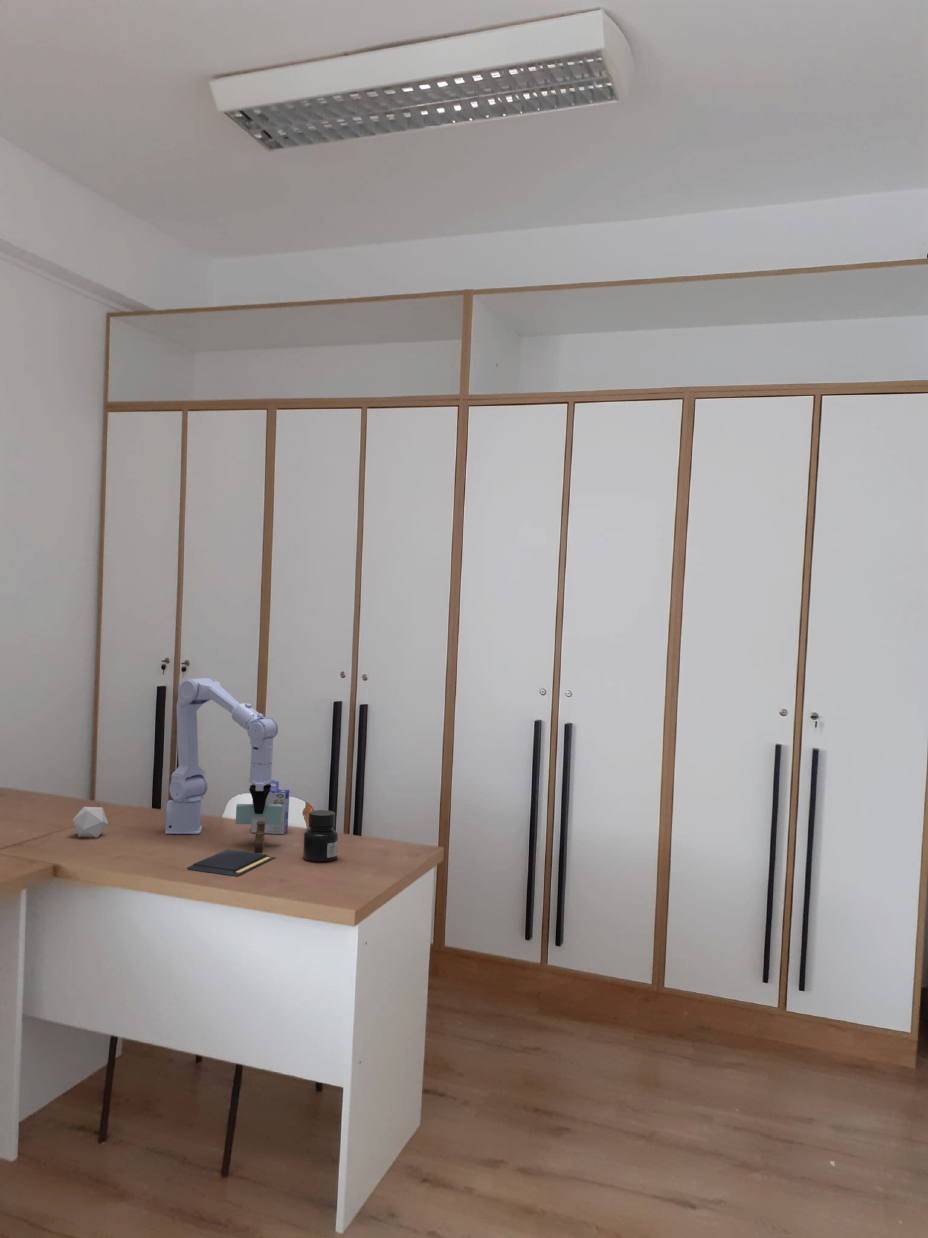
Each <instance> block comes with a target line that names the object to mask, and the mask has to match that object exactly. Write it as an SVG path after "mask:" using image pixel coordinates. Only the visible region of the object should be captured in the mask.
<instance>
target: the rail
mask: <svg viewBox="0 0 928 1238" xmlns="http://www.w3.org/2000/svg"><path fill="white" fill-rule="evenodd" d="M265 835H266V833H265V821H258V823H257V831H256V833H255V838H254V839H255V841H254V842H255V843H254V853H261V854H263V850H264V844H265Z"/></svg>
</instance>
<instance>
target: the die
mask: <svg viewBox="0 0 928 1238" xmlns="http://www.w3.org/2000/svg"><path fill="white" fill-rule="evenodd" d="M72 822H73V825H74V828H75V831H76V833H77V836H78V838H94V839H95V838H98V837H99V836H100V835H101V834H102V833H103V832H104V831H105V829H106V828H107V827H108V826H109V822H108V819H107V817H106V813H105V811H104V808H103V807H97V806H83V807H82V808H81V809H80V811H79V812H78V813H77V814H76V816H74V818H73V819H72Z"/></svg>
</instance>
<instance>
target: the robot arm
mask: <svg viewBox="0 0 928 1238" xmlns="http://www.w3.org/2000/svg"><path fill="white" fill-rule="evenodd" d="M177 696H178V697H177V702H176V730H177V731H176V732H177V749H178V750H177V756H178V757H177V759H178V767H177V768H176V769H175V770H174V771H173V772H172V774H171V776H170V777H171V781H170V784H169V787H168V788H169V790H168V791H169V794H170V797H171V799H169V800H168V801H167V802H166V803H167V804H166V809H165V811H166V812H165V821H164V823H165V825H164V826H165V830H164V834H166V835H173V834H174V835H175V834H176V835H200V834H201V831H202V830H203V825H201V814H202V813H201V812H202V811H201V810H202V808H201V807H202V800H203V799H204V796H205V794H206V793H207V791H208V787H209V786H208V780H207V779H206V773H205V772H206V771H205V769H204V768H202V767H201V766H200V765H199V746H198V745H199V741H198V737H199V736H198V717H197V716H198V714H197V711H198V710H199V709H200V708H201V707H202V706H203V704H206V703H208V702H210V701H213V702H215V703H216V704H218V705H219V706H220V707H222V708H223V709H224V710H226V711H228V712H230V713H231V719H232V720H233V721H234V722H235V723H236V724H238V725H239V726H240V727H241V728H243V729H245V730H246V732H247V736H248V738H249V740H250V742H249V743H250V746H251V749H250V750H251V751H250V752H251V753H250V768H249V770H250V772H249V773H250V774H249V778H248V779H249V780H248V782H249V783H250V785H249V789H248V790H249V794H251V798H252V801H253V804H254V812H255V814H263V812H264V807H265V802H266V799H267V796H268V794H269V792H270V790H271V789H270V788H271V786H272V783H271V782H275V781H276V778H275V777H273V778H272V771H273V748H274V747H273V746H274V738H275V737H276V736H277V735H278V731H279V726H278V723H277V722H276V720H274V718H272V717H265V716H264V714H262V713H260V712H259V711H257V710H256V709H254V708H253V707H252V706H253V705H252V704H251V703H250V702H249V703H248V702H247V703H246V702H242V703H240V702H239V701H238V700H236V699H235V698H234V697H233V696H232V695H231V694H230V693H228V691H226V689H224V688H223V687H222V685H221V682H219V681H217V680H216V679H215V678H214V677H202V678H185V679H184V680H183V681H181V683H180V684H179V685H178V686H177ZM269 783H271V784H269Z"/></svg>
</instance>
